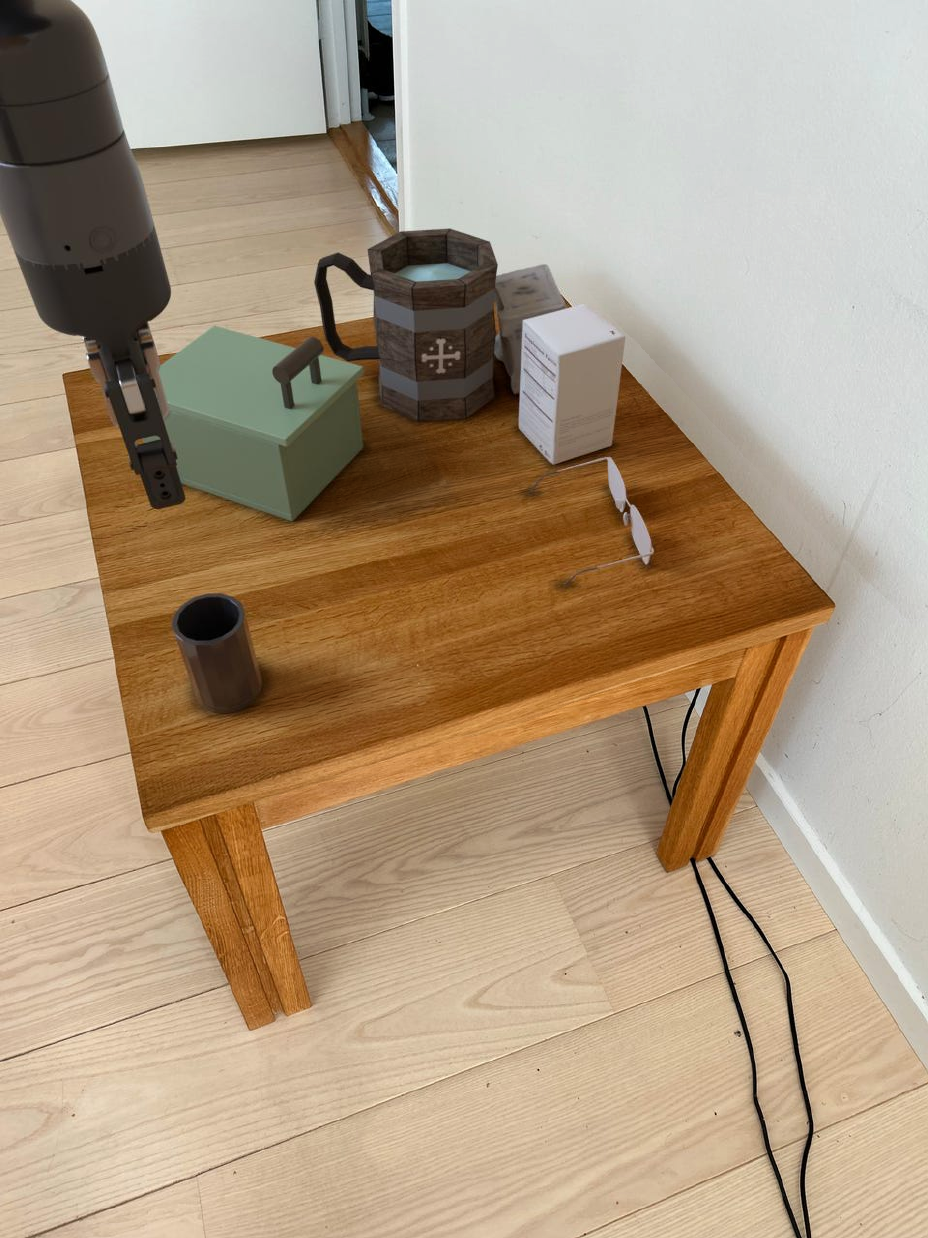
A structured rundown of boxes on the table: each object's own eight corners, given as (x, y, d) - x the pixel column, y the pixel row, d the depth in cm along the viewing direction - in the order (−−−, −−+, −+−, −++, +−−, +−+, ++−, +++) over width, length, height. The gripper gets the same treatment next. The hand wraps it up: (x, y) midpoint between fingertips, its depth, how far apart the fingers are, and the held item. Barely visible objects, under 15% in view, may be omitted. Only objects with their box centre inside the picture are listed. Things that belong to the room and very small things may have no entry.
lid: (364, 374, 89) (359, 323, 85) (287, 447, 81) (278, 395, 77) (215, 332, 94) (205, 283, 90) (129, 397, 86) (113, 346, 82)
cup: (203, 722, 71) (180, 653, 65) (189, 674, 74) (165, 605, 69) (269, 700, 72) (252, 631, 67) (252, 655, 76) (234, 585, 70)
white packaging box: (576, 410, 100) (587, 300, 91) (613, 447, 95) (628, 335, 86) (515, 428, 98) (520, 317, 88) (550, 467, 93) (559, 354, 84)
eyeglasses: (652, 577, 82) (655, 544, 79) (564, 594, 81) (564, 561, 78) (607, 481, 91) (608, 448, 88) (527, 495, 91) (526, 463, 88)
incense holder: (483, 352, 108) (483, 266, 101) (552, 346, 109) (558, 261, 101) (497, 399, 101) (499, 310, 94) (571, 392, 102) (579, 304, 95)
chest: (363, 447, 95) (356, 372, 89) (292, 522, 87) (278, 445, 81) (231, 407, 100) (215, 333, 94) (153, 474, 92) (129, 398, 86)
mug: (509, 364, 106) (513, 235, 95) (479, 431, 97) (481, 296, 86) (347, 342, 110) (334, 215, 99) (305, 404, 101) (285, 272, 90)
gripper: (3, 188, 54) (90, 420, 66) (17, 300, 45) (114, 546, 57) (134, 167, 56) (195, 397, 68) (172, 271, 47) (235, 516, 59)
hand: (158, 465), depth 62 cm, fingers open, 8 cm apart
